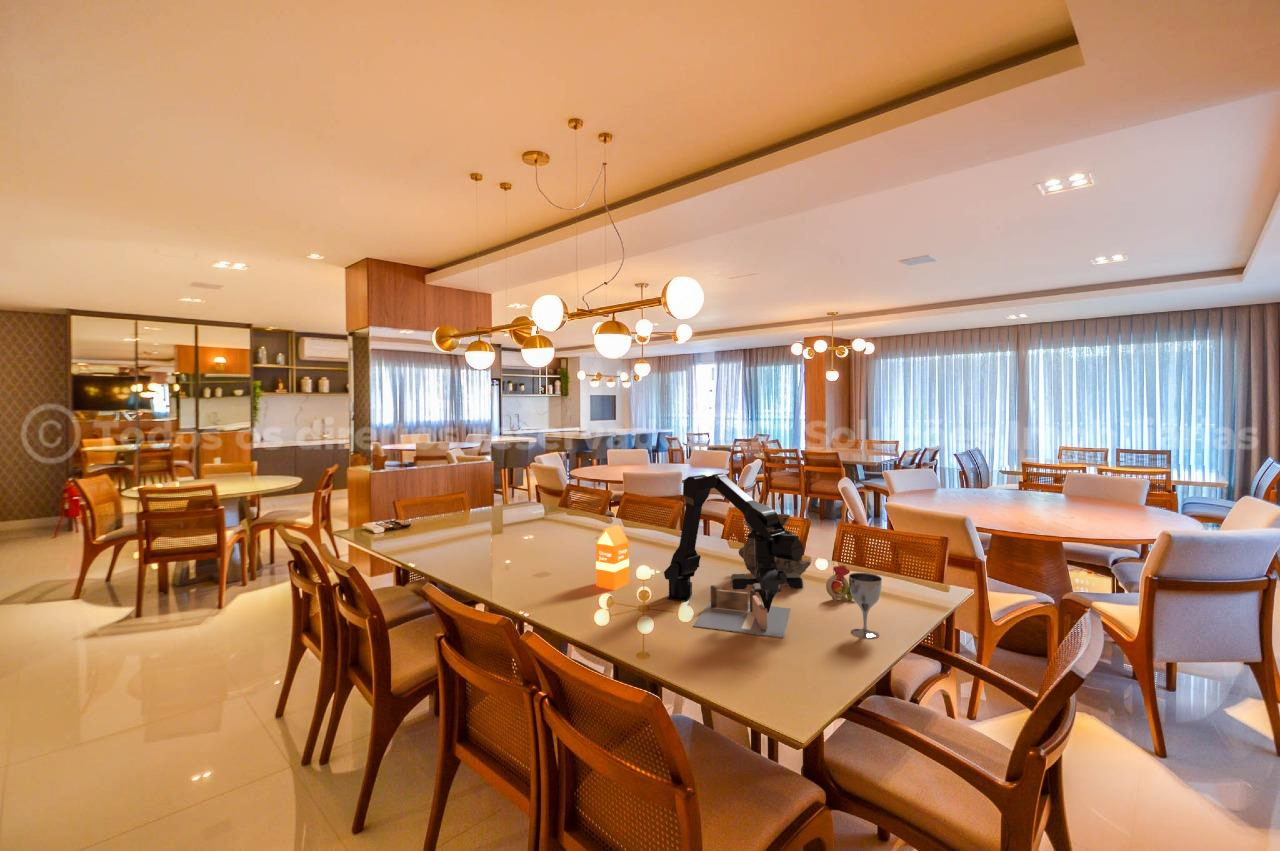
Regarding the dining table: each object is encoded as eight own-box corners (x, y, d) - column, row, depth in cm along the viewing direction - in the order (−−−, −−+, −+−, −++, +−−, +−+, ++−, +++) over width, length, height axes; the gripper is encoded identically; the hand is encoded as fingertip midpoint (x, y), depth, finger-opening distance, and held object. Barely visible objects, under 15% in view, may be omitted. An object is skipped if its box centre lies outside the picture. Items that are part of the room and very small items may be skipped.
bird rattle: (841, 610, 170) (864, 595, 172) (828, 578, 168) (851, 564, 171) (828, 603, 176) (851, 589, 178) (816, 572, 174) (839, 559, 177)
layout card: (692, 626, 153) (692, 625, 153) (710, 600, 173) (710, 599, 173) (783, 638, 144) (783, 636, 144) (790, 609, 165) (790, 608, 165)
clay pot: (738, 568, 208) (737, 510, 207) (803, 570, 205) (803, 512, 204) (740, 589, 183) (740, 524, 183) (815, 592, 180) (815, 526, 179)
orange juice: (629, 583, 191) (629, 525, 191) (614, 590, 184) (614, 529, 183) (610, 579, 196) (610, 522, 195) (595, 586, 188) (595, 527, 188)
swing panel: (751, 612, 161) (750, 593, 161) (757, 612, 161) (757, 593, 161) (760, 630, 148) (760, 610, 148) (768, 630, 148) (768, 610, 148)
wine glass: (880, 629, 149) (880, 574, 149) (882, 641, 142) (882, 582, 141) (848, 626, 152) (848, 571, 152) (849, 637, 145) (849, 580, 144)
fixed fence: (710, 608, 166) (710, 587, 166) (711, 606, 168) (711, 585, 168) (756, 614, 162) (756, 591, 161) (757, 611, 163) (757, 589, 163)
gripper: (733, 564, 145) (735, 623, 145) (806, 562, 144) (808, 622, 144) (729, 553, 156) (731, 609, 156) (797, 552, 155) (799, 608, 155)
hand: (767, 612), depth 153 cm, fingers closed
